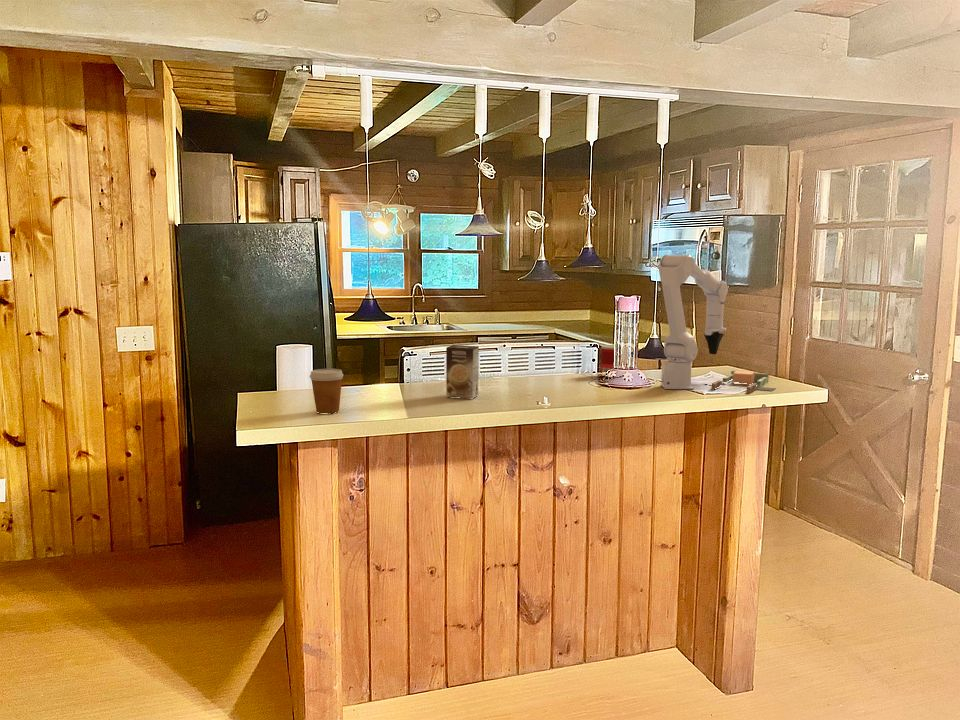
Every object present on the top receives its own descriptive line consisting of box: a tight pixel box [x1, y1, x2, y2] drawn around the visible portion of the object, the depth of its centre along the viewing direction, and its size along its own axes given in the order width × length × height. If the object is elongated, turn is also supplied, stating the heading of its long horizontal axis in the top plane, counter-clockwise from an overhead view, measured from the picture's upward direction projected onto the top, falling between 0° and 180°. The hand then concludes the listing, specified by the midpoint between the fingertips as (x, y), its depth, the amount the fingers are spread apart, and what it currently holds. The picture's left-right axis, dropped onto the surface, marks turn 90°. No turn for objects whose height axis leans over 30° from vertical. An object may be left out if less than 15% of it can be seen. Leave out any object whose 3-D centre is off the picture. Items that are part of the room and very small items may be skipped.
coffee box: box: [445, 344, 480, 399], centre depth 239 cm, size 9×6×16 cm
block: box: [732, 370, 756, 384], centre depth 262 cm, size 6×6×4 cm
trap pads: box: [755, 386, 777, 392], centre depth 256 cm, size 5×22×1 cm, turn 57°
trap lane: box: [710, 370, 770, 394], centre depth 257 cm, size 24×12×3 cm, turn 147°
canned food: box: [600, 344, 615, 374], centre depth 277 cm, size 8×8×11 cm
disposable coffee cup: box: [309, 368, 344, 414], centre depth 218 cm, size 10×10×12 cm
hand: (713, 353), depth 267 cm, fingers closed
